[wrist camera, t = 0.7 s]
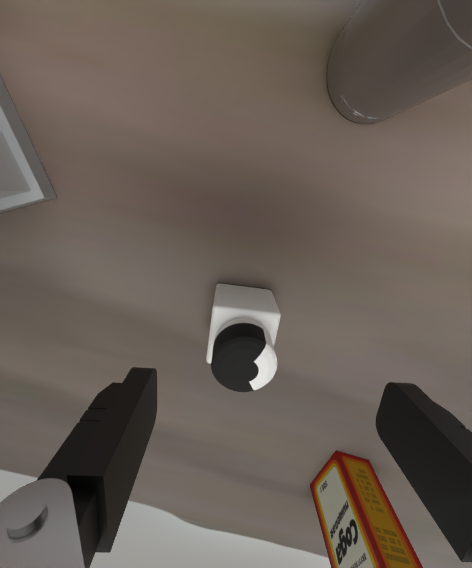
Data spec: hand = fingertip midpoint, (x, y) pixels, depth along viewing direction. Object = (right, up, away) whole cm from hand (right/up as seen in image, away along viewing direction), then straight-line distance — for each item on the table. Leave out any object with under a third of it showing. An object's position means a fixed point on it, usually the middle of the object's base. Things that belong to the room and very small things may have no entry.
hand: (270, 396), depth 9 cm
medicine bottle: (-1, 0, +25) cm, 25 cm away
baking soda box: (+17, -30, +36) cm, 50 cm away
